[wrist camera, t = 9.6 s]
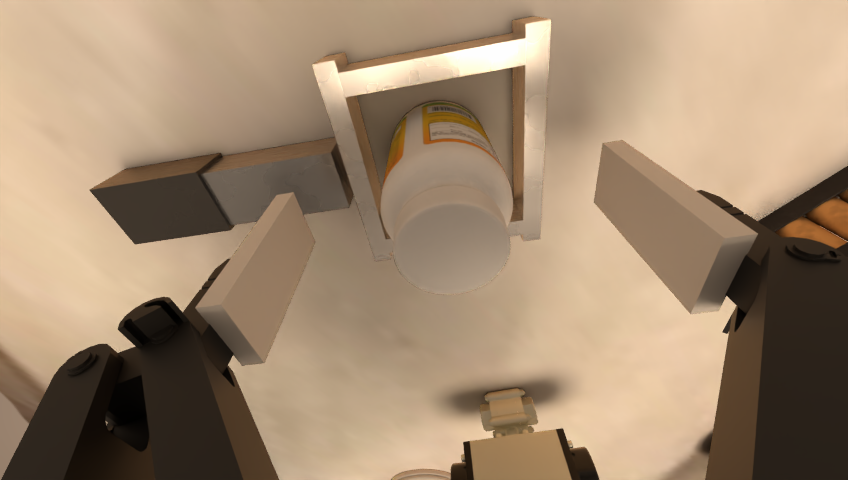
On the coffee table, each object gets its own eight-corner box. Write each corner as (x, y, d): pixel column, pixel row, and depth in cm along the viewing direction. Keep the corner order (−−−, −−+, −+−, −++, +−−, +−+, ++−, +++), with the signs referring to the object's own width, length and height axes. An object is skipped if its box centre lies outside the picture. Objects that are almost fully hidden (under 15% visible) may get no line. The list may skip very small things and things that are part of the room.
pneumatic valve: (444, 394, 34) (454, 550, 25) (561, 375, 33) (621, 536, 23) (456, 419, 38) (469, 567, 28) (563, 403, 36) (616, 555, 26)
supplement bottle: (420, 204, 21) (421, 327, 13) (372, 130, 18) (337, 230, 11) (500, 165, 20) (553, 277, 12) (460, 78, 17) (496, 149, 9)
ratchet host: (194, 263, 24) (172, 289, 22) (76, 103, 17) (29, 118, 15) (529, 216, 22) (540, 240, 20) (533, 16, 15) (551, 19, 13)
